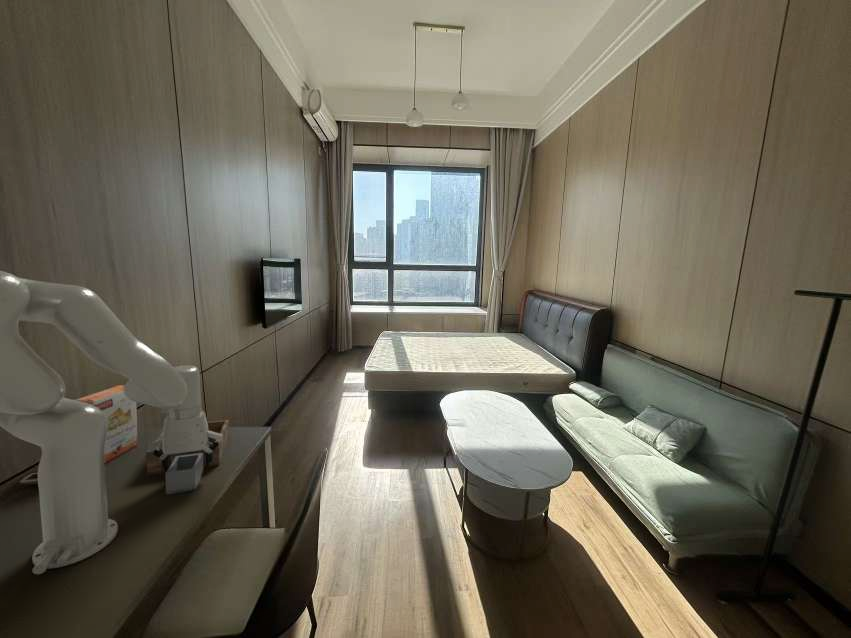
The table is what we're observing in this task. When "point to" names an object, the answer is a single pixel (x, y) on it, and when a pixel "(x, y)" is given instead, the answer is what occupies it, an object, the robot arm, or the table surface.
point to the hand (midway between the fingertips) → (188, 467)
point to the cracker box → (116, 420)
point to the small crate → (184, 473)
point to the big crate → (215, 426)
